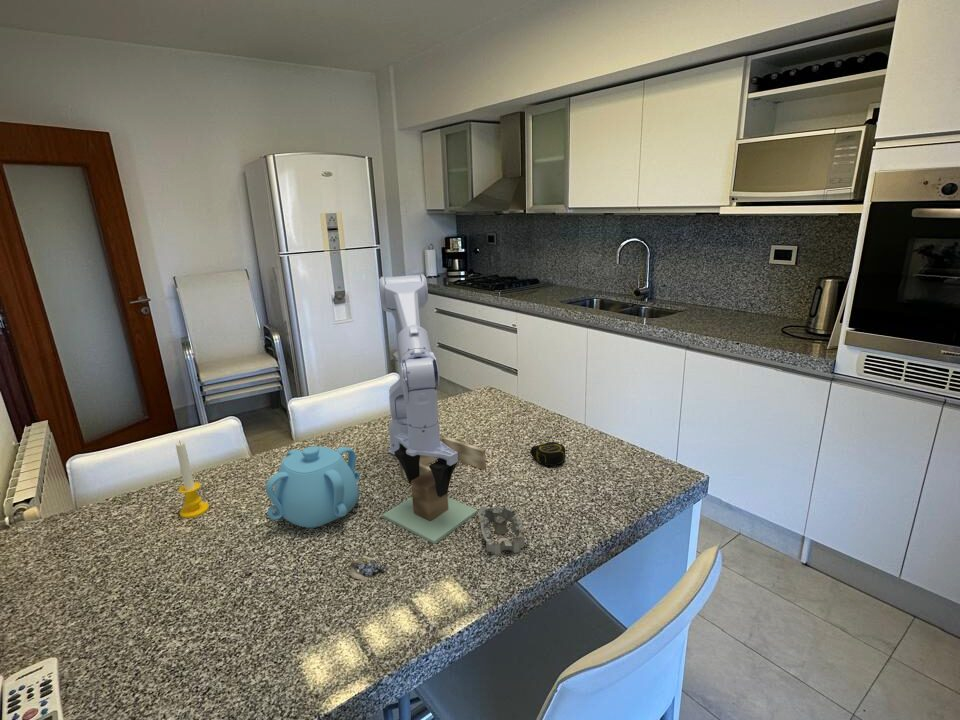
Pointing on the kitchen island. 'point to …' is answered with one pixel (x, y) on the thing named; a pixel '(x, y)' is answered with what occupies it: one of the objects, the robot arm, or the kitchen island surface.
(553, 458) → the tape measure
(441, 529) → the sage mat
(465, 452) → the open-side box
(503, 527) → the egg carton
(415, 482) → the walnut block
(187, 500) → the candle
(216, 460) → the kitchen island surface
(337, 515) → the decorative pot
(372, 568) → the blueberries
